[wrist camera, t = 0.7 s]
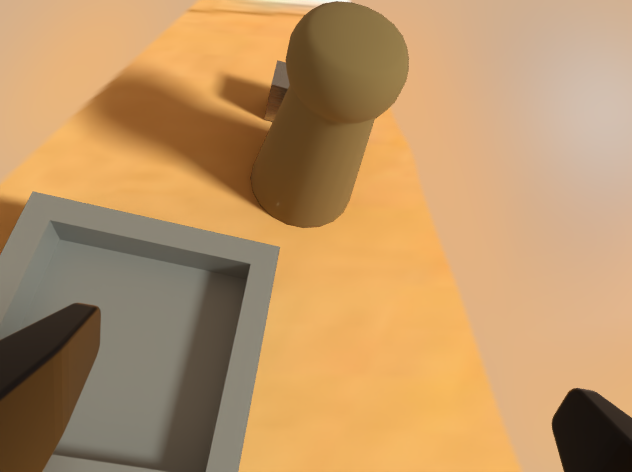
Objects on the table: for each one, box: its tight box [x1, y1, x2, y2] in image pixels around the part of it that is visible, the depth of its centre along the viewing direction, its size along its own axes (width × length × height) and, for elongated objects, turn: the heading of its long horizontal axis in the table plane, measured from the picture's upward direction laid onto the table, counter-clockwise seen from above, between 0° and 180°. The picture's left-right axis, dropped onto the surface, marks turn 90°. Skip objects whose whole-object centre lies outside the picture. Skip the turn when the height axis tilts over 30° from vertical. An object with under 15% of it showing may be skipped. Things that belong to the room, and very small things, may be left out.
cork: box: [251, 1, 409, 228], centre depth 23 cm, size 6×6×11 cm
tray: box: [0, 192, 280, 472], centre depth 21 cm, size 11×11×2 cm
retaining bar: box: [264, 60, 290, 122], centre depth 29 cm, size 2×6×3 cm, turn 83°
